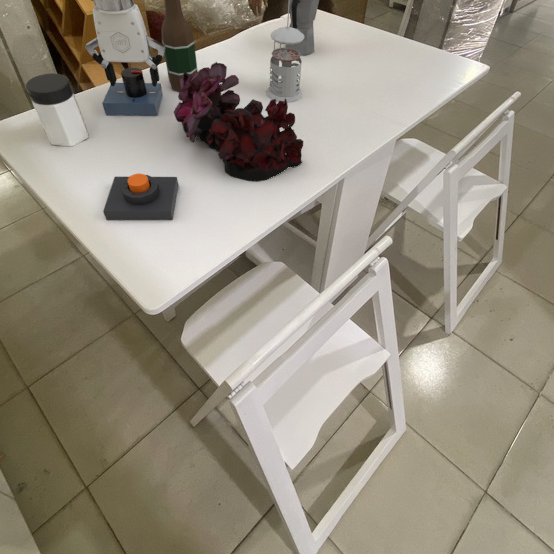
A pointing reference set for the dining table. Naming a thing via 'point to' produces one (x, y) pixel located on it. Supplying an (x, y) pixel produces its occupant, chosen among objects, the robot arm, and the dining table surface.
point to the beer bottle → (177, 44)
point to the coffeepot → (303, 23)
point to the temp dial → (134, 82)
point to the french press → (285, 65)
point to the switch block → (142, 200)
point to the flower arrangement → (237, 126)
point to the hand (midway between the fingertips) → (134, 83)
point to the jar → (57, 109)
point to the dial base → (132, 101)
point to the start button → (138, 183)
